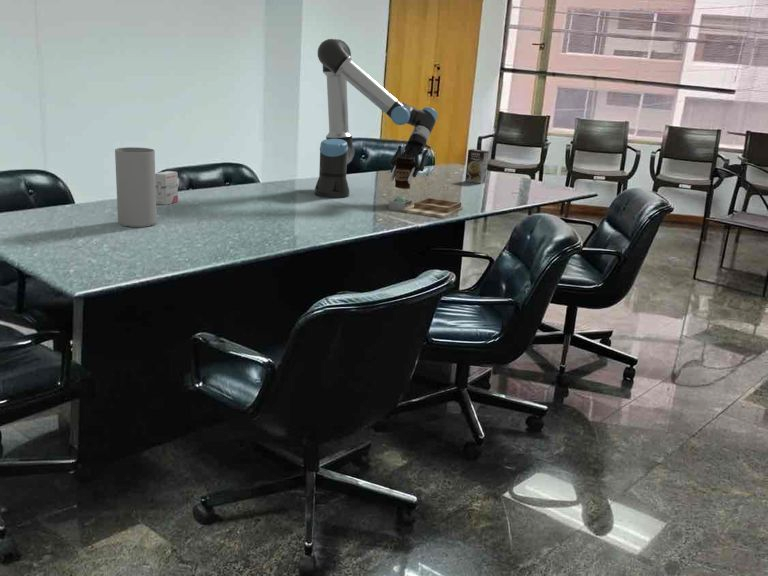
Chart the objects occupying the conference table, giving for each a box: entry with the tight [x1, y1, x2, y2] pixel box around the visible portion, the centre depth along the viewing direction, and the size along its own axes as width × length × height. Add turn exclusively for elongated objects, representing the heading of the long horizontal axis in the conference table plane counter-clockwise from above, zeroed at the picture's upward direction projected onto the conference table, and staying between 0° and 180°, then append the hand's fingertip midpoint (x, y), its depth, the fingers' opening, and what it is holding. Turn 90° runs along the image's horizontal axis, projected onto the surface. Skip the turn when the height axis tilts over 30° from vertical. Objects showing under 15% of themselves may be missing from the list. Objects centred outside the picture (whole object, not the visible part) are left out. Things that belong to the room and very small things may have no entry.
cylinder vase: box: [114, 146, 158, 228], centre depth 258 cm, size 12×12×25 cm
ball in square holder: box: [388, 197, 413, 212], centre depth 313 cm, size 7×7×4 cm
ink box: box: [155, 170, 179, 206], centre depth 296 cm, size 9×5×12 cm, turn 160°
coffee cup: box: [394, 156, 416, 190], centre depth 322 cm, size 9×8×13 cm
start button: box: [395, 196, 406, 202], centre depth 313 cm, size 4×4×4 cm
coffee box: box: [464, 148, 490, 185], centre depth 390 cm, size 9×6×16 cm
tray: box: [401, 197, 463, 219], centre depth 314 cm, size 18×22×3 cm
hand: (400, 180), depth 320 cm, fingers closed on coffee cup, 7 cm apart
